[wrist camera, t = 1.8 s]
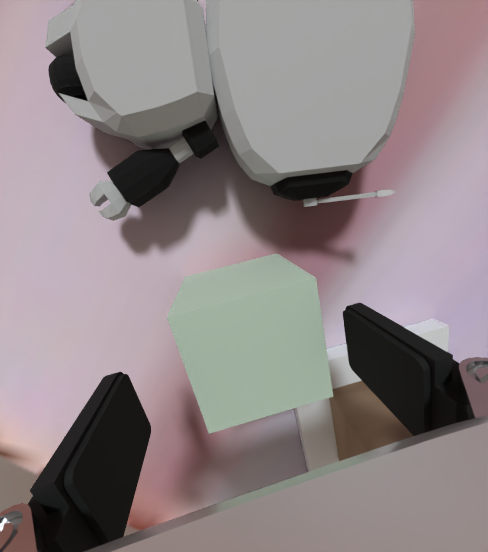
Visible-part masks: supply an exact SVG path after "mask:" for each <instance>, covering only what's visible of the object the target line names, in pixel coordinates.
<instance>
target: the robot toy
mask: <svg viewBox="0 0 488 552" xmlns="http://www.w3.org/2000/svg"><path fill="white" fill-rule="evenodd" d="M414 36H415V27H414V9H413V0H206V28H205V21H204V14H203V7H202V6H201V5H200V4H199V2H198V0H76V2H75V3H74V5H72V6H71V7H69V8H68V9H66V10H64V11H63V12H61V13H60V14H58V15H57V16H55V17H54V18H52V19H51V20H49V23H48V31H47V39H46V47H45V48H47V49H48V50H49V51H50V52H51V53H52V54H53V55H54V56H56V57H57V58H55V59H54V60H53V62H52V63H51V64H50V65H49V77H50V83H51V85H52V88H53V90H54V91H55V93H56V94H57V96H58V97H59V98H60V99H61V100H62V101H64V102H65V103H66V104H67V105H68V106H69V107H70V109H71V110H72V111H73V113H74V114H75V115H77V116H78V117H80V118H82V119H83V120H85V121H86V122H88V123H90V124H91V125H93V126H94V127H96V128H98V129H99V130H101V131H102V132H104V133H106V134H110V135H114V136H117V137H121V138H125V139H127V140H129V141H130V142H132V143H133V144H135V145H136V146H137V147H140V148H144V149H148V150H139V151H137V152H135V153H134V154H132V155H131V156H130V157H128V158H127V159H125V160H124V161H123V162H121V163H120V164H118V165H117V166H116V167H114V168H113V169H111V170H110V171H109V172H107V173H108V175H109V177H110V179H111V180H110V181H100V182H99V183H98V184H97V185H96V186H95V188H94V189H93V190H92V191H91V193H90V201H91V202H92V204H93V205H94V206H100V205H101V204H102V203H103V202H105V201H106V200H109V201H110V202H111V204H110V205H109V206H107V207H106V208H104V209H103V210H101V211H99V213H100V214H101V215H102V216H103V217H105V218H107V219H110V220H113V221H114V220H117V219H119V218H122V217H125V216H126V214H127V212H128V210H129V208H130V206H131V204H132V205H134V206H137V207H140V206H142V205H143V204H145V203H146V202H147V201H149V200H150V199H152V198H153V197H155V196H156V195H158V194H159V193H161V192H162V191H164V190H165V189H167V188H168V187H169V185H170V183H171V181H172V179H173V177H174V175H175V174H176V171H177V169H178V167H179V164H180V163H181V162H183V161H184V160H186V159H187V158H188V157H190V156H191V155H193V154H194V155H195V156H196V157H198V158H203V157H204V156H205V155H207V154H208V153H210V152H211V151H213V150H214V149H216V148H217V147H219V146H218V143H217V140H216V138H215V136H214V135H213V133H212V131H211V130H212V128H213V126H214V124H215V122H216V120H217V110H216V105H217V108H218V112H219V116H220V120H221V123H222V127H223V131H224V133H225V136H226V138H227V141H228V143H229V146H230V149H231V151H232V153H233V155H234V157H235V159H236V161H237V163H238V164H239V165H240V167H241V168H242V169H243V170H244V171H245V173H246V174H247V175H248V176H249V177H250V179H252V180H254V181H257V182H260V183H263V184H265V185H268V186H270V187H271V189H272V191H273V194H274V195H277V196H280V197H283V198H286V199H289V200H293V201H296V200H303V203H304V207H307V206H316V205H317V203H325V202H333V201H341V200H350V199H358V198H366V197H374V196H375V197H381V196H389V195H391V194H393V193H395V192H396V191H393V190H381V191H375V192H372V193H364V194H357V195H349V196H341V197H333V198H325V199H317V198H320V197H326V196H329V195H330V194H332V193H334V192H336V191H338V190H339V189H341V188H343V187H345V186H346V185H348V184H349V182H350V179H351V177H352V174H353V173H354V172H356V171H357V170H359V169H360V168H362V167H364V166H365V165H367V164H368V163H370V162H372V161H373V160H375V159H376V157H377V156H378V154H379V153H380V151H381V149H382V148H383V146H384V145H385V143H386V142H387V140H388V138H389V137H390V134H391V132H392V129H393V127H394V125H395V122H396V118H397V115H398V112H399V108H400V105H401V101H402V98H403V95H404V89H405V84H406V79H407V73H408V68H409V63H410V57H411V52H412V47H413V42H414ZM215 101H216V103H215Z"/></svg>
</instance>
